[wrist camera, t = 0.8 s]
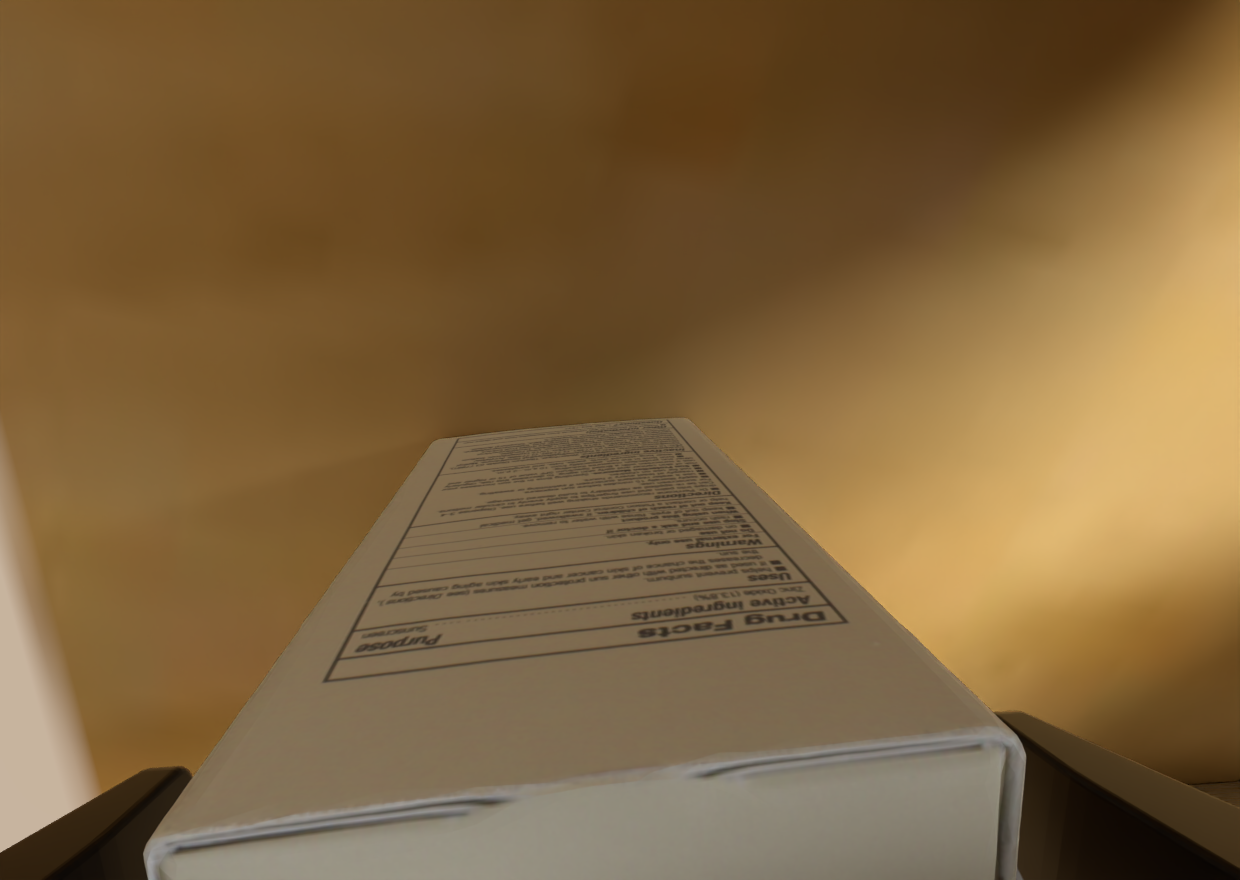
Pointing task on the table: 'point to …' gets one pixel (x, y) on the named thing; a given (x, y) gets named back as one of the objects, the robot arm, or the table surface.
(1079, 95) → the table surface
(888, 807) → the skincare box
